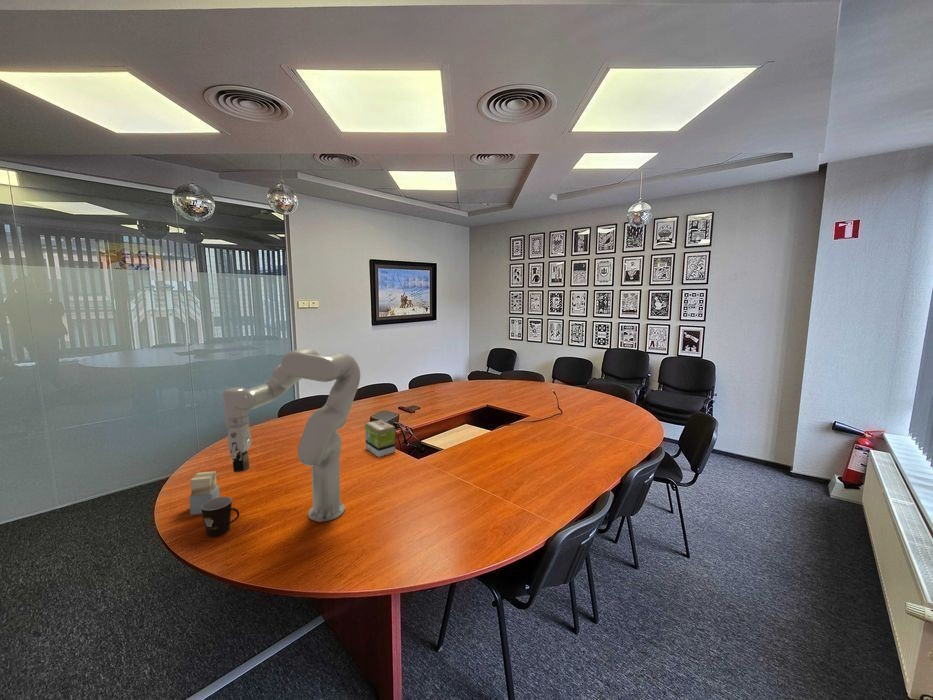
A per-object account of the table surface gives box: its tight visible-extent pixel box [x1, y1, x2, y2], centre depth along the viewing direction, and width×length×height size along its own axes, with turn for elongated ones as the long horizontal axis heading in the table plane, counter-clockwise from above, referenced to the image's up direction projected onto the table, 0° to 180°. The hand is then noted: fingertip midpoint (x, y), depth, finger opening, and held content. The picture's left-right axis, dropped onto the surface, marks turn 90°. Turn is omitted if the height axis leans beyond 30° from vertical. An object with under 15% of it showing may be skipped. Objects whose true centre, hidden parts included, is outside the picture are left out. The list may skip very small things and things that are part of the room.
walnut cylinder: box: [232, 451, 250, 473], centre depth 139 cm, size 5×5×6 cm
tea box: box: [364, 419, 396, 458], centre depth 195 cm, size 15×10×15 cm
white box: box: [189, 485, 221, 516], centre depth 138 cm, size 7×7×7 cm
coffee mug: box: [201, 496, 240, 538], centre depth 123 cm, size 12×9×10 cm
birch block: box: [190, 470, 218, 496], centre depth 137 cm, size 6×6×6 cm
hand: (241, 467), depth 139 cm, fingers closed on walnut cylinder, 5 cm apart
